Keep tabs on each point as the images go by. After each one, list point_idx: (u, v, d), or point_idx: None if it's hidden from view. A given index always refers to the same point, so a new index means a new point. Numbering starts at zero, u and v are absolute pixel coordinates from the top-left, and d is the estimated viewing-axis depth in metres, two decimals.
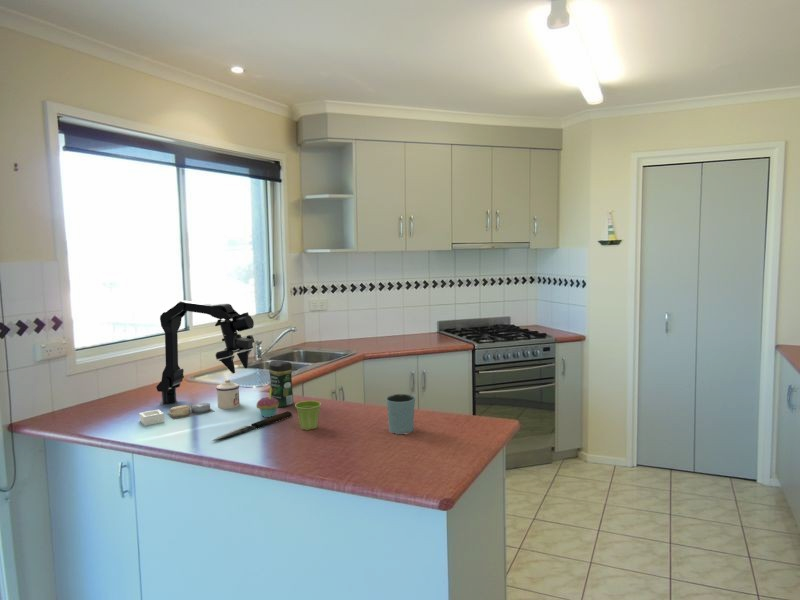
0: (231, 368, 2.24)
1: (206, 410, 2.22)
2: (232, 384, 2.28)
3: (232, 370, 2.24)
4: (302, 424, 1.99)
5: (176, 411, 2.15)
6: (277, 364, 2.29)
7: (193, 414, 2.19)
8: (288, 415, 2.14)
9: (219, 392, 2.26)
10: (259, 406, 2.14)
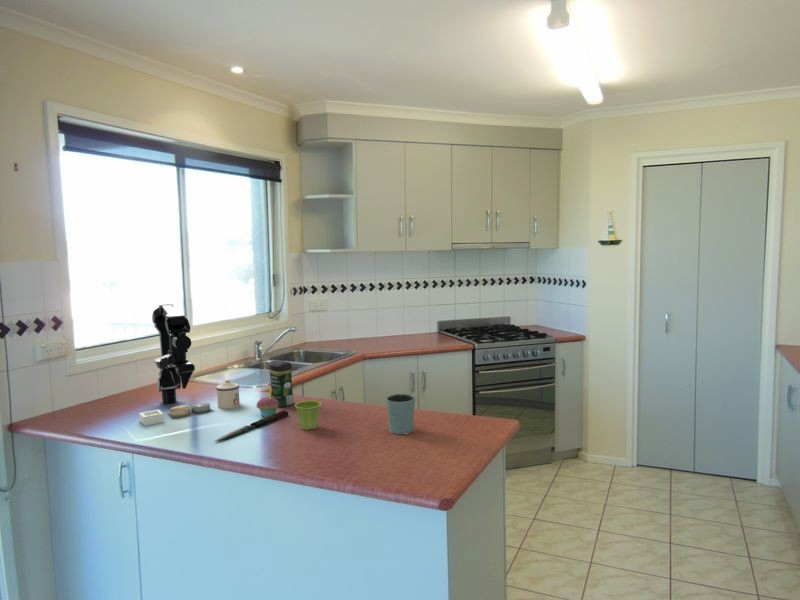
0: None
1: (206, 410, 2.22)
2: (232, 384, 2.28)
3: None
4: (302, 424, 1.99)
5: (176, 411, 2.15)
6: (277, 364, 2.29)
7: (193, 414, 2.19)
8: (285, 414, 2.16)
9: (219, 392, 2.26)
10: (259, 406, 2.14)
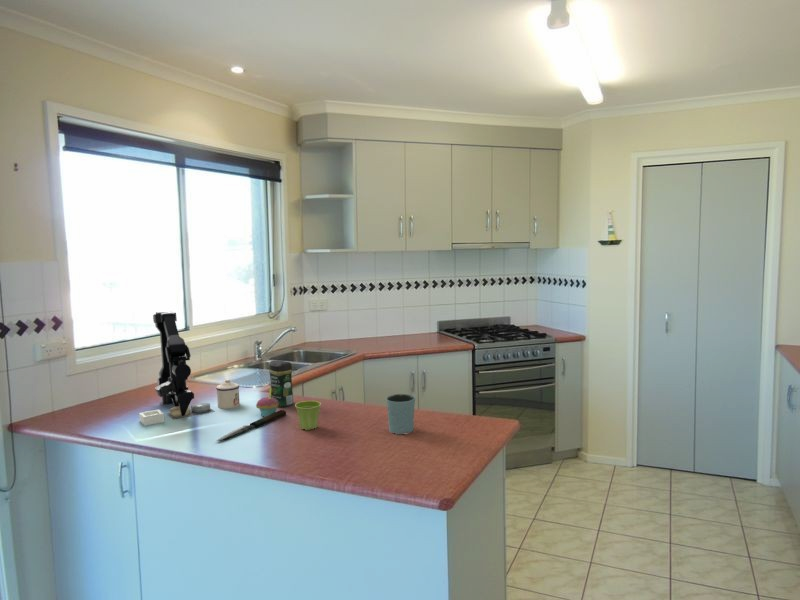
0: None
1: (206, 410, 2.22)
2: (232, 384, 2.28)
3: None
4: (302, 424, 1.99)
5: (176, 411, 2.15)
6: (277, 364, 2.29)
7: (193, 414, 2.19)
8: (283, 413, 2.16)
9: (219, 392, 2.26)
10: (259, 406, 2.14)
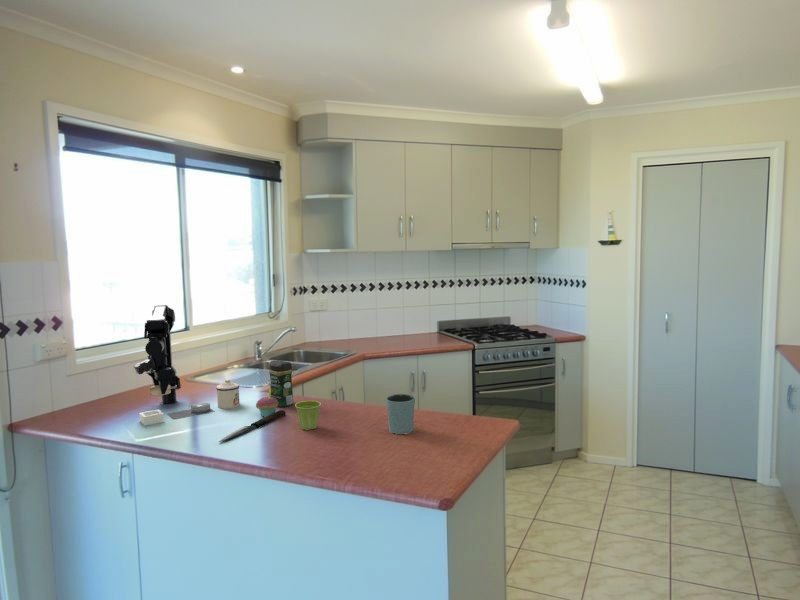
0: None
1: (207, 410, 2.22)
2: (232, 384, 2.28)
3: None
4: (302, 424, 1.99)
5: (156, 389, 2.09)
6: (277, 364, 2.29)
7: (193, 414, 2.19)
8: (283, 414, 2.17)
9: (219, 392, 2.26)
10: (259, 406, 2.14)
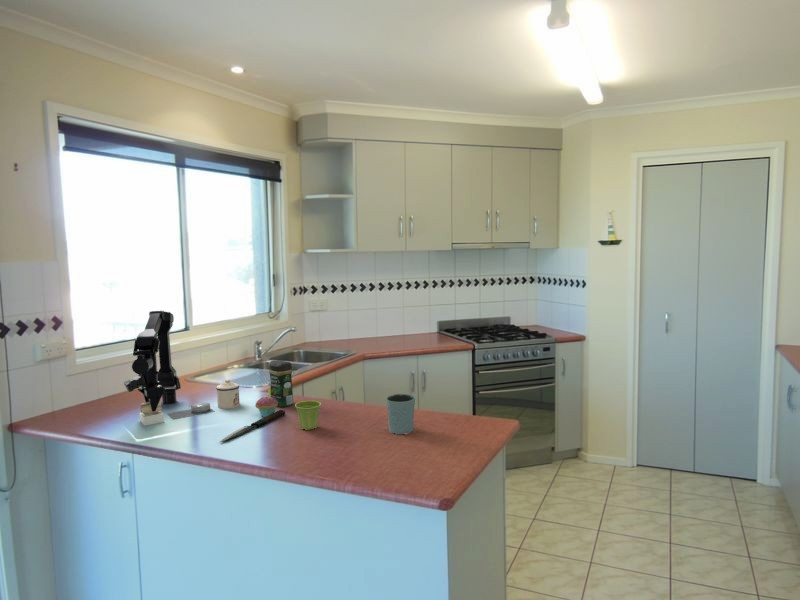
0: None
1: (207, 410, 2.22)
2: (232, 384, 2.28)
3: None
4: (302, 424, 1.99)
5: (147, 407, 2.07)
6: (277, 364, 2.29)
7: (193, 414, 2.19)
8: (282, 413, 2.17)
9: (219, 392, 2.26)
10: (258, 406, 2.14)
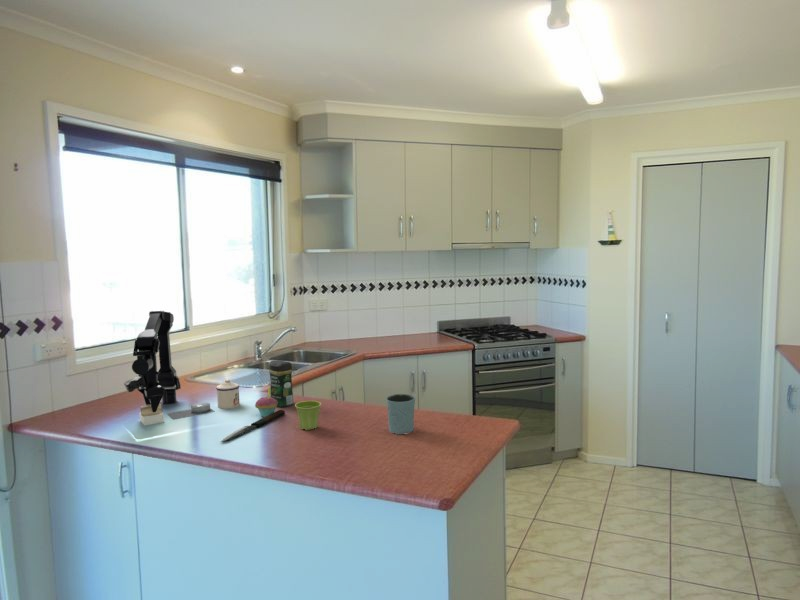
0: None
1: (207, 410, 2.22)
2: (232, 384, 2.28)
3: None
4: (302, 424, 1.99)
5: (147, 410, 2.07)
6: (277, 364, 2.29)
7: (193, 414, 2.19)
8: (282, 413, 2.17)
9: (219, 392, 2.26)
10: (258, 406, 2.14)
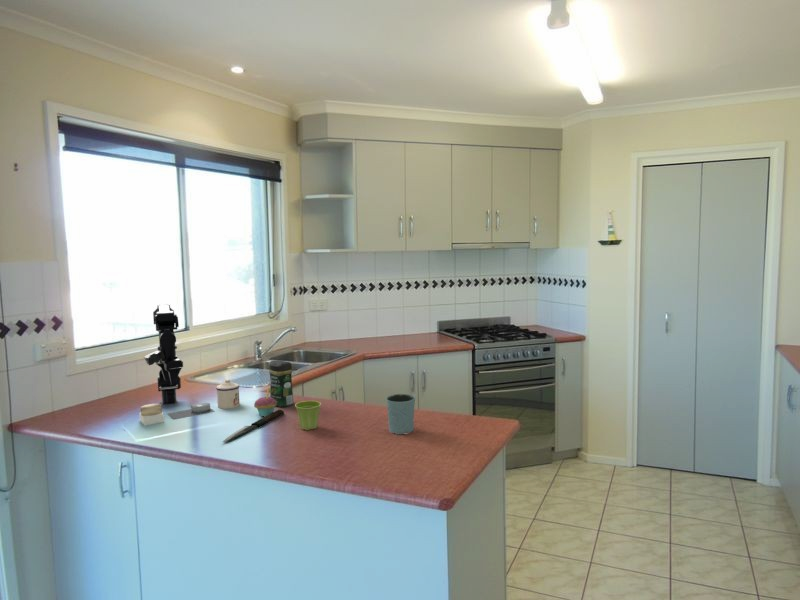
0: None
1: (208, 409, 2.23)
2: (232, 384, 2.28)
3: None
4: (302, 424, 1.99)
5: (147, 410, 2.07)
6: (277, 364, 2.29)
7: (193, 414, 2.19)
8: (281, 413, 2.17)
9: (219, 392, 2.26)
10: (257, 405, 2.15)
